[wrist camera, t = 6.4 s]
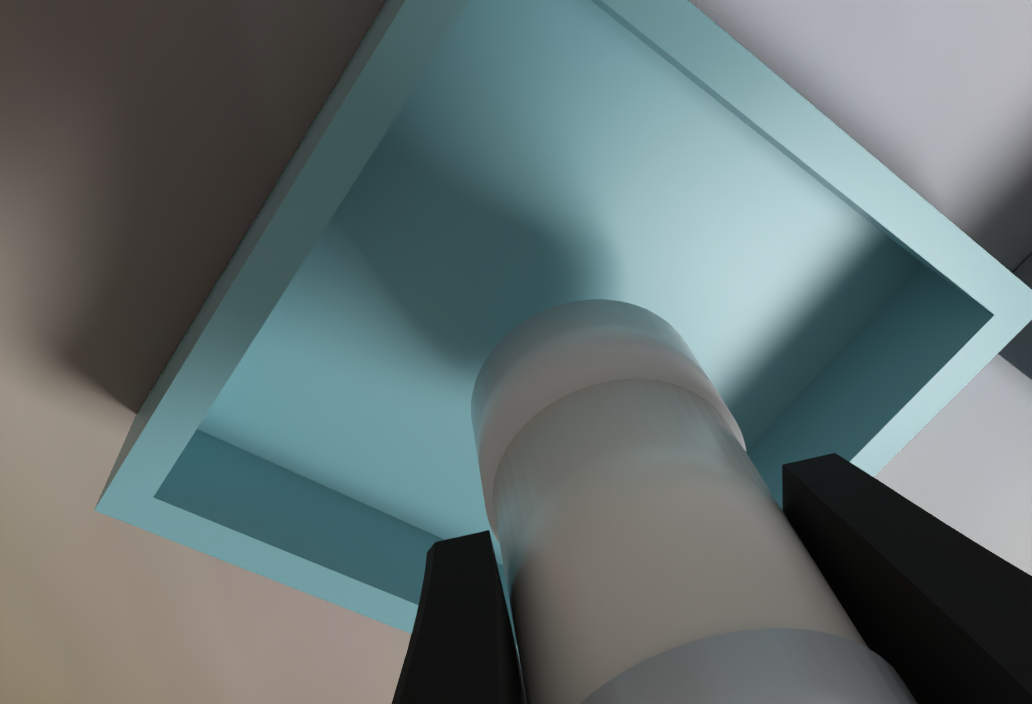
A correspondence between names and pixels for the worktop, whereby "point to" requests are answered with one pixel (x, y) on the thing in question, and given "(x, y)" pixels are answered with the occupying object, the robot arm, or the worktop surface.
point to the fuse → (648, 529)
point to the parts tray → (540, 283)
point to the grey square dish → (1028, 346)
